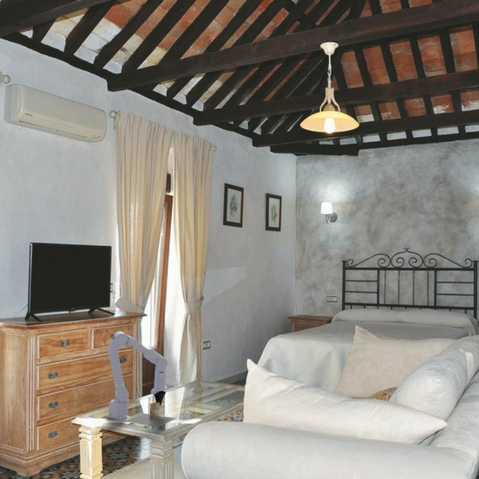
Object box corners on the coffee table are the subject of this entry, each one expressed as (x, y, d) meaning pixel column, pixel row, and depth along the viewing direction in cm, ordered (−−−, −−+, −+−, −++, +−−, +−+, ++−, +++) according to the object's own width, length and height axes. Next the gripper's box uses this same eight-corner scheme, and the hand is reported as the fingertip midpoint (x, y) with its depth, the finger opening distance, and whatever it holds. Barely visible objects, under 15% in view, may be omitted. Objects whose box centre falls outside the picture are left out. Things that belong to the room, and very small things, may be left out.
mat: (124, 422, 285) (124, 421, 285) (142, 413, 302) (142, 413, 302) (159, 427, 278) (159, 426, 278) (176, 419, 295) (176, 418, 295)
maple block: (149, 417, 295) (150, 403, 295) (152, 415, 298) (153, 401, 298) (155, 418, 293) (156, 404, 294) (159, 416, 297) (159, 402, 297)
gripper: (159, 382, 292) (158, 409, 292) (173, 378, 306) (171, 403, 305) (148, 381, 295) (146, 407, 294) (161, 376, 308) (160, 401, 308)
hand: (158, 405), depth 300 cm, fingers closed
